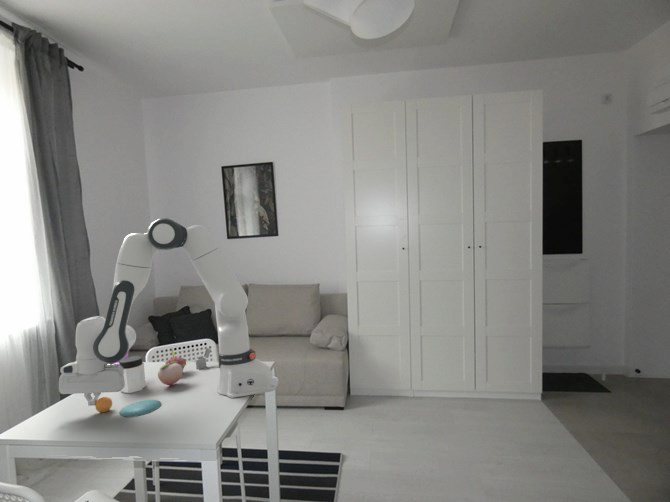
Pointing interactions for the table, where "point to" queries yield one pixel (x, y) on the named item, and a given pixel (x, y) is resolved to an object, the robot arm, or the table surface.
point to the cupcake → (177, 360)
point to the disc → (140, 408)
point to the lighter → (202, 359)
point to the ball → (103, 404)
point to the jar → (133, 374)
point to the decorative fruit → (170, 373)
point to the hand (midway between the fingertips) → (93, 404)
